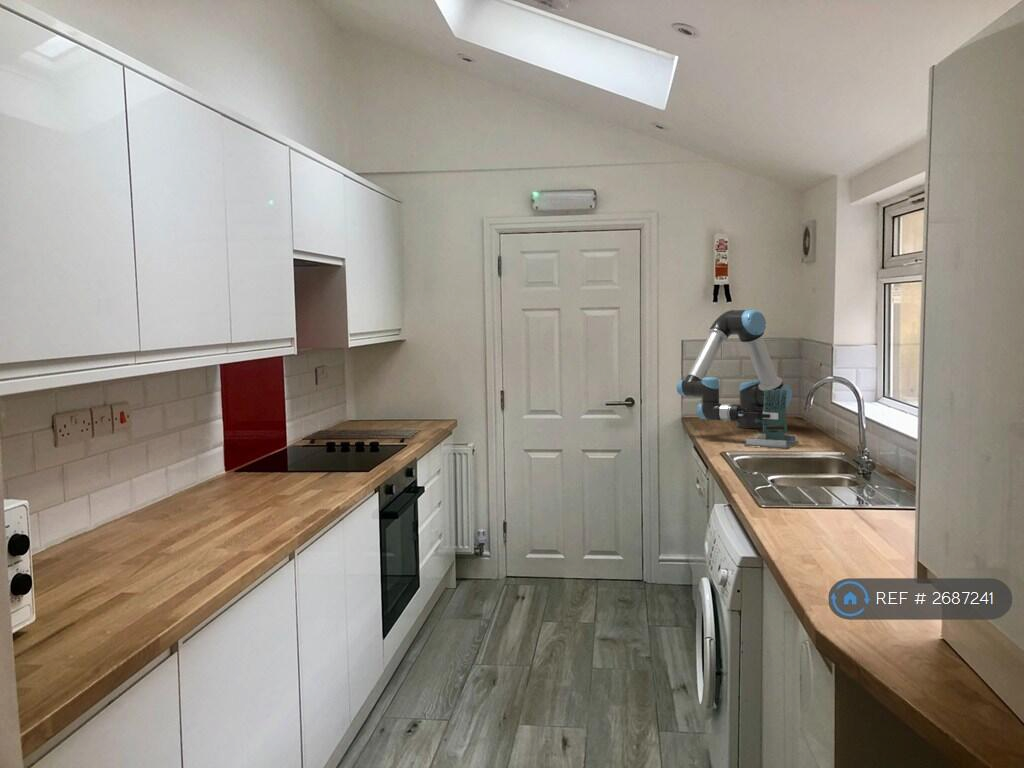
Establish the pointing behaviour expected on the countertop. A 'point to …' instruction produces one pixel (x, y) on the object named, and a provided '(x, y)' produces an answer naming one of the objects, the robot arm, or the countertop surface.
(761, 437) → the rail dock
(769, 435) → the robotic hand
